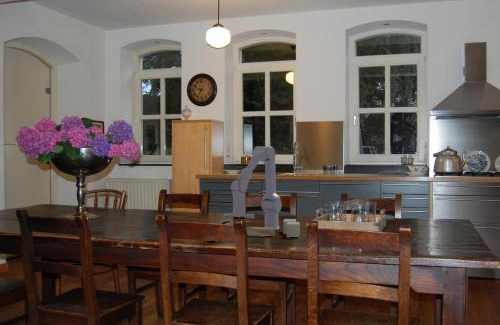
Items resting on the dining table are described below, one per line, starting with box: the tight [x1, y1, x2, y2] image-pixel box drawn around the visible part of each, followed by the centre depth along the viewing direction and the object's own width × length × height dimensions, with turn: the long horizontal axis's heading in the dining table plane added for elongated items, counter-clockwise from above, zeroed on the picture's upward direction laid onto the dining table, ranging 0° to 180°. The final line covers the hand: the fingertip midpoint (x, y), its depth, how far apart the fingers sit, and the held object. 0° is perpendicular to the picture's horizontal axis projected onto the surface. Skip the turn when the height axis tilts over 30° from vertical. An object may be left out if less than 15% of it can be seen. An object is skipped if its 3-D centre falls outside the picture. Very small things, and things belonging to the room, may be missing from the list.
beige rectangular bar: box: [245, 226, 276, 237], centre depth 235 cm, size 4×14×4 cm, turn 76°
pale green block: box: [282, 218, 297, 235], centre depth 243 cm, size 8×6×6 cm
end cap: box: [286, 221, 301, 238], centre depth 233 cm, size 8×6×6 cm
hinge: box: [217, 219, 234, 225], centre depth 223 cm, size 17×5×10 cm, turn 155°
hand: (239, 232), depth 236 cm, fingers closed
